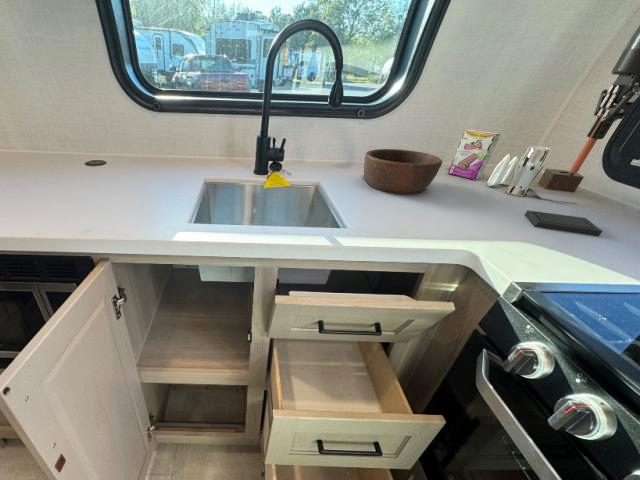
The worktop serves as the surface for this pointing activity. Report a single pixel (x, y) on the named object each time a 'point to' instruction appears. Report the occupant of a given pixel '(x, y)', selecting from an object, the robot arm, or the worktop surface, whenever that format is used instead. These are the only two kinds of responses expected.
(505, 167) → the shaker set
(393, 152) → the wooden bowl
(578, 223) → the screen
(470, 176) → the candy bar box
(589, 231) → the tablet
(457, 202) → the worktop surface
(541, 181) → the stand
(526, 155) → the beer glass
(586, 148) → the stylus
